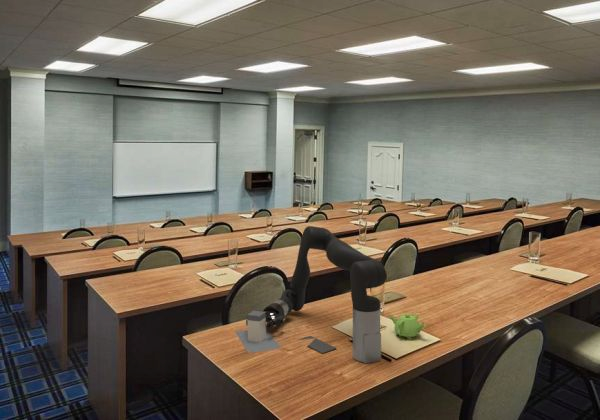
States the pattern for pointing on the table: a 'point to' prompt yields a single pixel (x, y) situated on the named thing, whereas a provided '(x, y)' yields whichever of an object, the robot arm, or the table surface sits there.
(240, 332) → the desk mat
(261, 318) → the block
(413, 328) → the teapot
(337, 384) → the table surface
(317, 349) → the smartphone
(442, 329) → the table surface
